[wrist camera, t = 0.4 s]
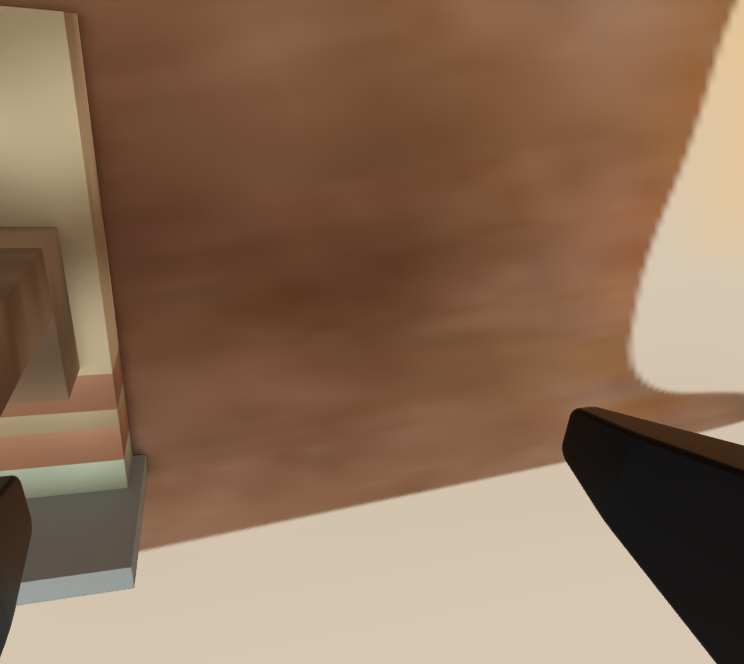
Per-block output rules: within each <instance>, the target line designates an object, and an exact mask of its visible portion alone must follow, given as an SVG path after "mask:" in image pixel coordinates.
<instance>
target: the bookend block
mask: <svg viewBox="0 0 744 664" xmlns="http://www.w3.org/2000/svg"><path fill="white" fill-rule="evenodd" d="M79 370H80V364H79V358H78V352H77V346H76V340H75V334H74V328H73V321H72V315H71V309H70V303H69V297H68V291H67V285H66V278H65V272H64V266H63V260H62V254H61V248H60V242H59V235H58V229H57V227H0V416H1V414H2V413H3V411H4V409H5V407H6V405H7V404H13V403H28V402H43V401H58V400H69V398H70V395H71V392H72V389H73V387H74V384H75V381H76V378H77V375H78V372H79Z"/></svg>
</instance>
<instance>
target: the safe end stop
mask: <svg viewBox="0 0 744 664" xmlns="http://www.w3.org/2000/svg"><path fill="white" fill-rule="evenodd" d="M147 474H148V472H147V463H146V454H145V455H134V456H133V458H132V464H131V470H130V477H129V483H128V488H122V489H113V490H103V491H94V492H84V493H75V494H65V495H56V496H46V497H37V498H27V499H26V501H27V504H28V508H29V511H30V515H31V520H32V535H31V540H30V545H29V549H28V554H27V558H26V563H25V567H24V572H23V576H22V581H21V585H20V590H19V594H18V599H17V603H16V606H18V605H24V604H31V603H38V602H44V601H51V600H58V599H64V598H71V597H78V596H85V595H91V594H98V593H105V592H111V591H118V590H125V589H132V588H134V584H135V577H136V568H137V560H138V551H139V543H140V534H141V526H142V517H143V509H144V500H145V491H146V483H147Z"/></svg>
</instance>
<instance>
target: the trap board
mask: <svg viewBox="0 0 744 664" xmlns="http://www.w3.org/2000/svg"><path fill="white" fill-rule="evenodd" d="M0 227H57V229H58V235H59V242H60V248H61V254H62V260H63V266H64V272H65V278H66V285H67V291H68V297H69V303H70V309H71V315H72V321H73V328H74V334H75V340H76V346H77V352H78V358H79V364H80V370H79V372H78V375H77V378H76V381H75V384H74V387H73V389H72V392H71V395H70V398H69V400H58V401H43V402H28V403H13V404H7V405H6V407H5V409H4V411H3V413H2V414H1V416H0V477H1V476H10V475H14V476H17V477H18V478H19V480H20V481H21V484H22V487H23V490H24V494H25V497H26V499H27V498H37V497H46V496H56V495H65V494H75V493H84V492H94V491H103V490H113V489H122V488H128V483H129V477H130V470H131V464H132V458H133V453H132V445H131V437H130V429H129V422H128V414H127V406H126V398H125V390H124V382H123V374H122V366H121V358H120V350H119V342H118V334H117V326H116V318H115V310H114V302H113V294H112V286H111V279H110V271H109V263H108V255H107V247H106V239H105V231H104V223H103V215H102V207H101V199H100V191H99V183H98V175H97V167H96V159H95V151H94V144H93V136H92V128H91V120H90V112H89V104H88V96H87V88H86V80H85V72H84V64H83V56H82V48H81V40H80V32H79V24H78V16H77V13H70V12H62V11H52V10H41V9H30V8H20V7H9V6H0Z"/></svg>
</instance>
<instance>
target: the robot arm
mask: <svg viewBox="0 0 744 664" xmlns="http://www.w3.org/2000/svg"><path fill="white" fill-rule="evenodd" d="M562 451H563V455H564V458H565V460H566V462H567V464H568V465H569V466H570V468H571V470H572V471H573V473H574V475H575V476H576V478H577V479H578V481H579V482H580V484H581V486H582V487H583V489H584V490H585V492H586V493H587V495H588V496H589V498H590V500H591V501H592V503H593V504H594V506H595V508H596V509H597V511H598V512H599V514H600V515H601V517H602V518H603V520H604V521H605V522H606V524H607V525H608V526H609V528H610V529H611V530H612V532H613V533H614V534H615V536H616V537H617V538H618V539H619V541H620V542H621V543H622V544H623V546H624V547H625V548H626V549H627V550H628V552H629V553H630V555H631V556H632V557H633V558H634V560H635V561H636V562H637V563H638V565H639V566H640V567H641V568H642V570H643V571H644V572H645V573H646V575H647V576H648V577H649V578H650V580H651V581H652V582H653V584H654V585H655V586H656V588H657V589H658V590H659V591H660V593H661V594H662V595H663V596H664V598H665V599H666V600H667V601H668V603H669V604H670V605H671V607H672V608H673V609H674V610H675V612H676V613H677V614H678V615H679V617H680V618H681V619H682V620H683V622H684V623H685V624H686V625H687V627H688V628H689V629H690V631H691V632H692V633H693V634H694V636H695V637H696V638H697V640H698V641H699V642H700V643H701V645H702V646H703V647H704V648H705V650H706V651H707V652H708V653H709V655H710V656H711V657H712V658H713V660H714V661H715V662H716V664H744V446H743V445H739V444H735V443H732V442H728V441H724V440H720V439H717V438H713V437H709V436H705V435H701V434H698V433H694V432H690V431H686V430H682V429H678V428H675V427H671V426H667V425H663V424H659V423H655V422H652V421H648V420H644V419H640V418H636V417H633V416H629V415H625V414H621V413H617V412H613V411H610V410H606V409H602V408H598V407H585V408H577V409H575V410H573V411H572V413H571V415H570V418H569V422H568V425H567V429H566V433H565V436H564V440H563V444H562ZM31 535H32V520H31V515H30V511H29V508H28V504H27V501H26V497H25V494H24V490H23V487H22V484H21V481H20V480H19V478H18V477H17V476H14V475H10V476H1V477H0V656H1V654H2V651H3V648H4V645H5V643H6V640H7V636H8V633H9V630H10V627H11V624H12V620H13V616H14V612H15V607H16V603H17V599H18V594H19V590H20V585H21V581H22V576H23V572H24V567H25V563H26V558H27V554H28V549H29V545H30V540H31Z"/></svg>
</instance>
